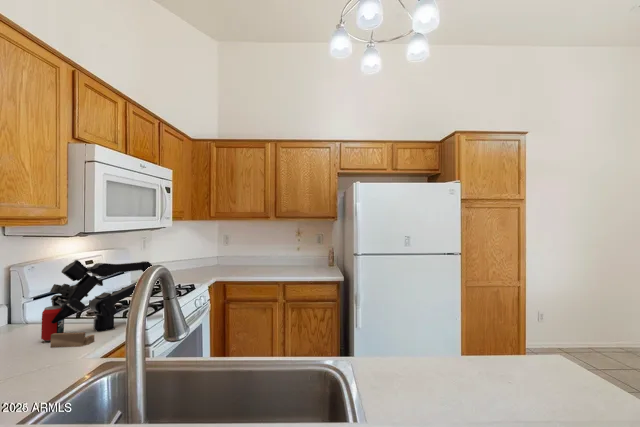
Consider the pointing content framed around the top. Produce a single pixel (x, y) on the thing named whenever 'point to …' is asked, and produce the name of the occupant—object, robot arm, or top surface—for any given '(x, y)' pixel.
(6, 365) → the top surface
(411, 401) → the top surface
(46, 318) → the beverage can
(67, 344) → the can cradle
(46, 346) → the top surface
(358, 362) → the top surface
